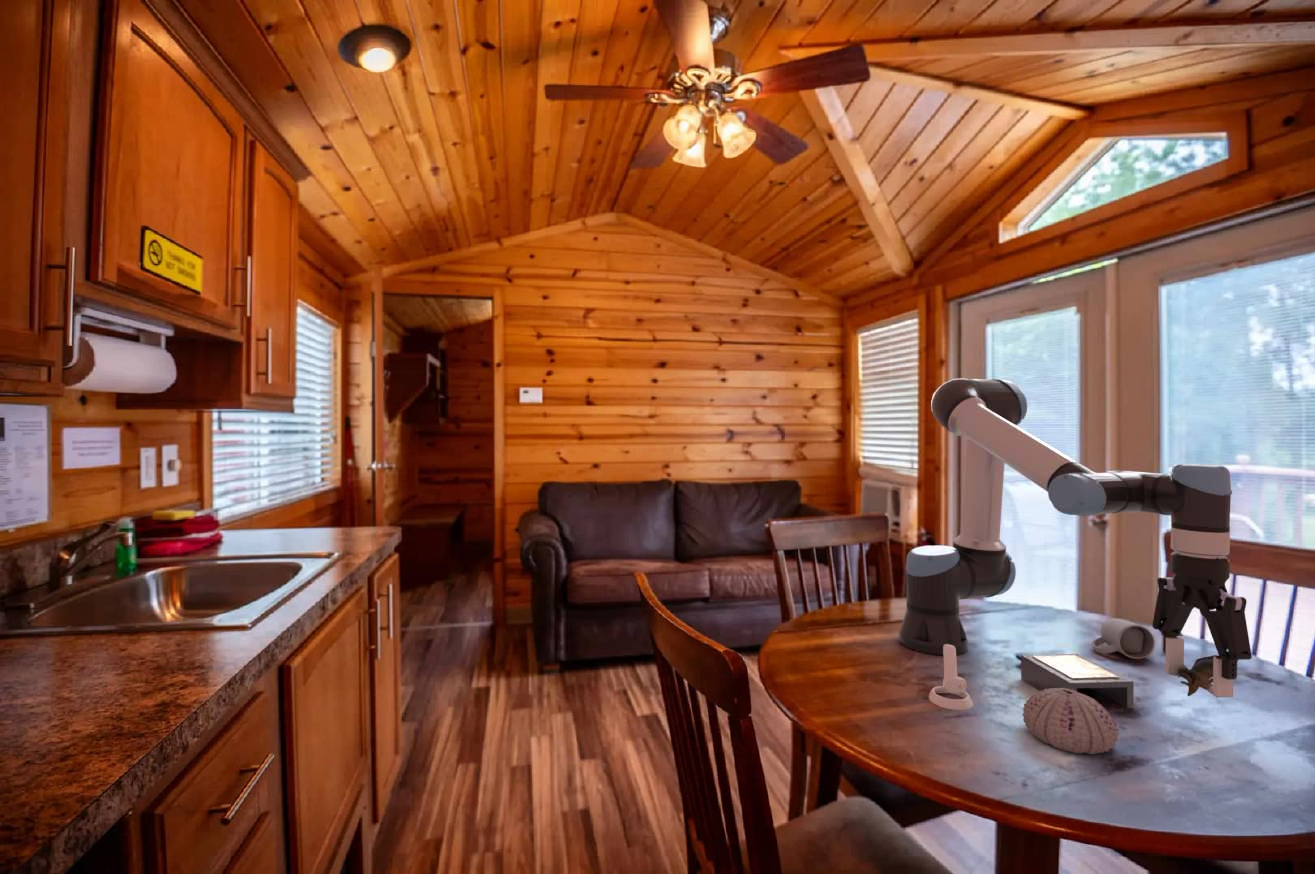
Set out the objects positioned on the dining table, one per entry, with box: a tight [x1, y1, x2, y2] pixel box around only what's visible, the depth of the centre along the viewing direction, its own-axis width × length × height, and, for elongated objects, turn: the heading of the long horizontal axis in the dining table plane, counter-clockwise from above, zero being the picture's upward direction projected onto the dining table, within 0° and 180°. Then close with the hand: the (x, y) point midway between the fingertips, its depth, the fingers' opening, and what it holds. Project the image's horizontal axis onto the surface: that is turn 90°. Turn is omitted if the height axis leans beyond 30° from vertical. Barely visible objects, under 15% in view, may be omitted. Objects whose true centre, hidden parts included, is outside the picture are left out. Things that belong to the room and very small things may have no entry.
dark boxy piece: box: [1020, 653, 1135, 710], centre depth 116 cm, size 12×14×5 cm
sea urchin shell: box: [1022, 688, 1120, 755], centre depth 99 cm, size 13×14×8 cm
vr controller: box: [928, 644, 974, 711], centre depth 115 cm, size 8×12×7 cm
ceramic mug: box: [1091, 618, 1156, 660], centre depth 138 cm, size 11×8×8 cm
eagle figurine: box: [1168, 654, 1218, 697], centre depth 103 cm, size 8×7×9 cm
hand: (1197, 684), depth 102 cm, fingers closed on eagle figurine, 8 cm apart
